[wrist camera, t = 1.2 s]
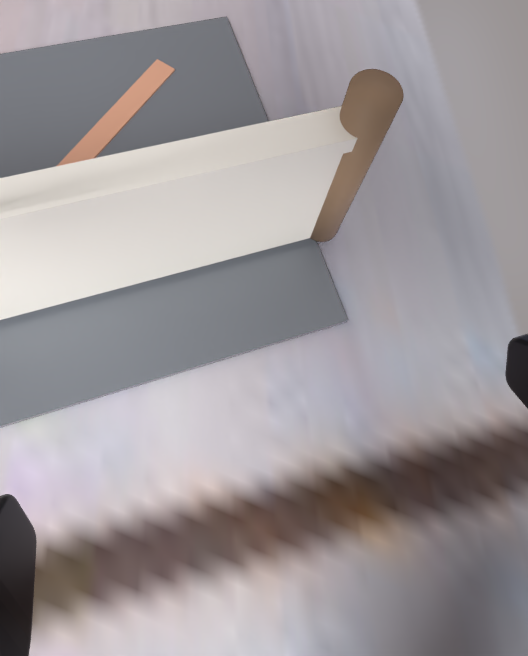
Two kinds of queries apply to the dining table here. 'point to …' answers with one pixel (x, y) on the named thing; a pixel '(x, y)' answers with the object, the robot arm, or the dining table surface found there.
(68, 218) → the white fence panel
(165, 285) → the card
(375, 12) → the dining table surface
